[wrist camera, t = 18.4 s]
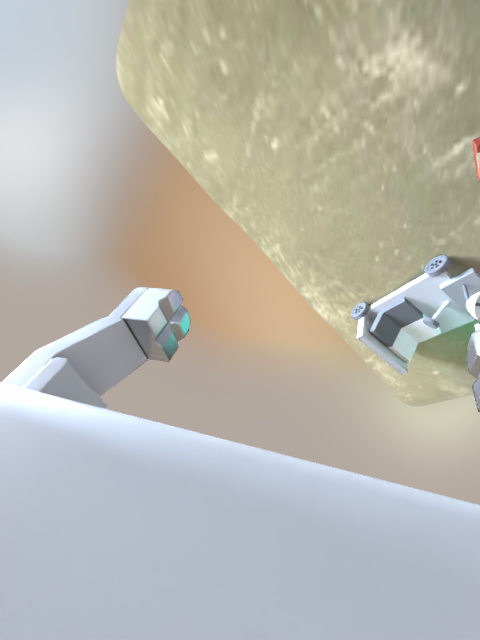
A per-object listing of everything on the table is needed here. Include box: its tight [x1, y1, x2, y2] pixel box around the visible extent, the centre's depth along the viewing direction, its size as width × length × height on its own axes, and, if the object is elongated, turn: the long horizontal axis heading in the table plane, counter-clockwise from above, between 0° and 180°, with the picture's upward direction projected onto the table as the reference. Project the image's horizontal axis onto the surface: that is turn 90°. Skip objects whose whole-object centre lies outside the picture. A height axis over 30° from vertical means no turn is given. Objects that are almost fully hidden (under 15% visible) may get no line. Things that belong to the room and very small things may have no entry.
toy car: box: [351, 255, 480, 374], centre depth 41 cm, size 18×10×12 cm
